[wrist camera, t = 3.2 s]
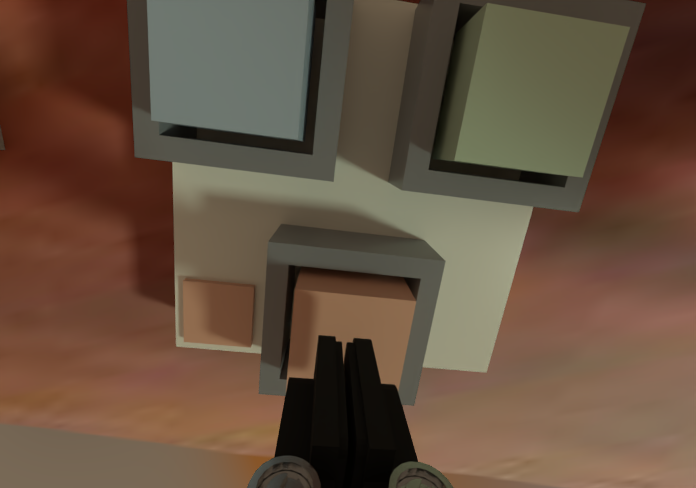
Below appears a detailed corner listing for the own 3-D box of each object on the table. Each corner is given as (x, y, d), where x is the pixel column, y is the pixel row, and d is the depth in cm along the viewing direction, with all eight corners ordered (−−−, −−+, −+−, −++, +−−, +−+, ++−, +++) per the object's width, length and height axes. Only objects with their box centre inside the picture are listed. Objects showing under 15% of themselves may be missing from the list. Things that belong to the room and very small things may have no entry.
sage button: (570, 52, 11) (630, 27, 9) (537, 172, 13) (582, 177, 10) (455, 33, 11) (486, 3, 9) (431, 158, 12) (454, 160, 10)
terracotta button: (402, 275, 14) (416, 301, 11) (386, 361, 15) (396, 401, 12) (301, 265, 13) (294, 289, 11) (293, 354, 14) (285, 392, 12)
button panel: (537, 53, 16) (654, -3, 10) (464, 340, 20) (517, 417, 14) (201, -1, 15) (114, -100, 9) (200, 316, 19) (141, 389, 13)
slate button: (316, 11, 11) (311, -28, 8) (304, 141, 12) (297, 139, 10) (186, -10, 10) (144, -56, 8) (187, 126, 12) (151, 120, 9)
